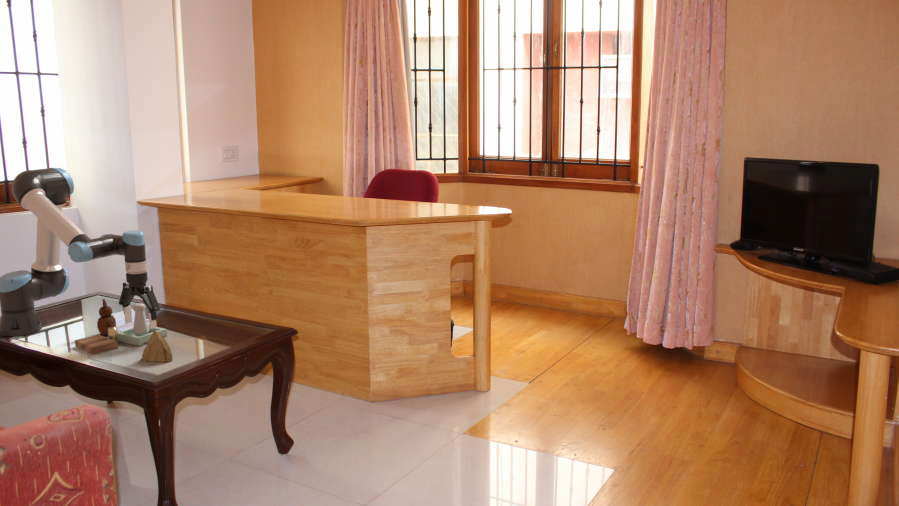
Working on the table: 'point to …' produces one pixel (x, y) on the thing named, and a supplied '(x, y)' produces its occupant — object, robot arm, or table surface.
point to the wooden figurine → (105, 319)
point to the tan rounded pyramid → (157, 349)
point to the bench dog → (112, 333)
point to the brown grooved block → (96, 344)
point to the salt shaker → (140, 320)
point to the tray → (130, 337)
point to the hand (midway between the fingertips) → (140, 325)
